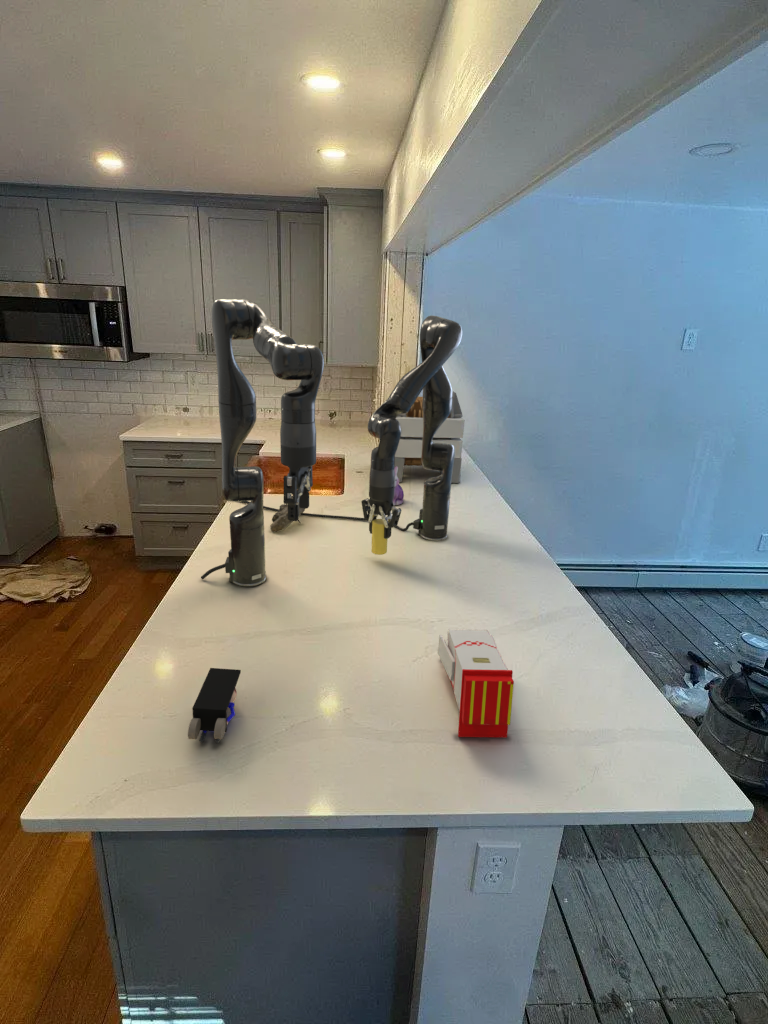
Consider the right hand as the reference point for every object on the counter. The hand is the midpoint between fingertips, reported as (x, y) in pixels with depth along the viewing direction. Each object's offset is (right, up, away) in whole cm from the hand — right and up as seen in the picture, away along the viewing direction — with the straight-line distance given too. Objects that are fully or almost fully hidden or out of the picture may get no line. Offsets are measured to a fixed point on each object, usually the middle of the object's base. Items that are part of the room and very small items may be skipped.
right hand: (379, 535), depth 173 cm
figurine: (+5, +11, +58) cm, 59 cm away
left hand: (-18, +7, -48) cm, 52 cm away
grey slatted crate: (+19, +26, +101) cm, 106 cm away
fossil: (-33, +3, +32) cm, 46 cm away
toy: (+19, -31, -55) cm, 66 cm away
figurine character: (-30, -33, -67) cm, 80 cm away
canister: (0, -5, +2) cm, 5 cm away
